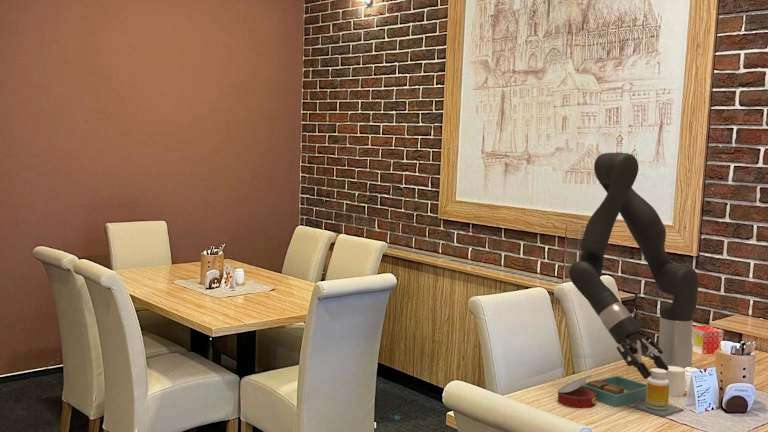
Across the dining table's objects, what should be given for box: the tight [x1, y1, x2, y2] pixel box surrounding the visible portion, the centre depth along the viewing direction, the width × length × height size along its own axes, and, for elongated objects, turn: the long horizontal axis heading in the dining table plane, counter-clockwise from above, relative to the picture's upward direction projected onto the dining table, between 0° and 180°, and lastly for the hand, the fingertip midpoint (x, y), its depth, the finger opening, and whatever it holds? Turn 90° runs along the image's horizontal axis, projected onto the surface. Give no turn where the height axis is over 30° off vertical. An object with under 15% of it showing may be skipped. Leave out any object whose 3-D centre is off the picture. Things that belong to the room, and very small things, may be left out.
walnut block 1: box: [586, 379, 609, 390], centre depth 203 cm, size 4×4×4 cm
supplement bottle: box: [645, 367, 670, 410], centre depth 194 cm, size 5×5×10 cm
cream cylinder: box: [666, 366, 686, 397], centre depth 208 cm, size 7×7×7 cm
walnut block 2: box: [603, 384, 625, 395], centre depth 200 cm, size 4×4×4 cm
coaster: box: [631, 401, 685, 418], centre depth 194 cm, size 9×9×1 cm
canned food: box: [557, 373, 597, 409], centre depth 198 cm, size 11×10×10 cm
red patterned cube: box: [692, 325, 724, 355], centre depth 256 cm, size 8×8×8 cm
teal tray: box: [580, 374, 647, 408], centre depth 204 cm, size 16×12×3 cm
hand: (657, 374), depth 194 cm, fingers open, 8 cm apart
